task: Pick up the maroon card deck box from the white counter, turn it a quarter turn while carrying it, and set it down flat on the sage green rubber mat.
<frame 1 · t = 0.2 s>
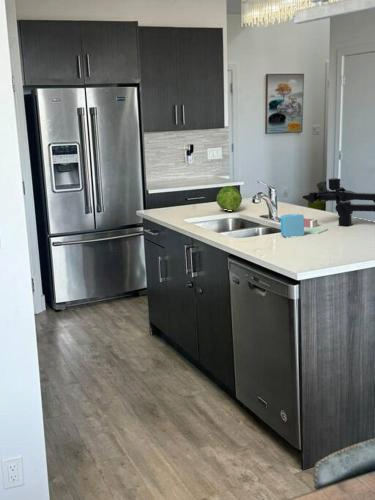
hand: (306, 196, 365), 17 cm above the worktop, tool horizontal, fingers open, 9 cm apart
card deck: (308, 226, 358), on the worktop
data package: (292, 236, 334), on the worktop
lettuce: (228, 211, 433), on the worktop
mat: (311, 231, 343), on the worktop
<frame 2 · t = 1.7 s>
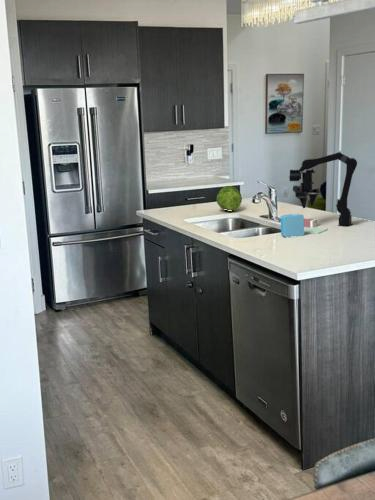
hand: (307, 207, 355), 12 cm above the worktop, tool pointing down, fingers open, 9 cm apart
nothing on the worktop moved.
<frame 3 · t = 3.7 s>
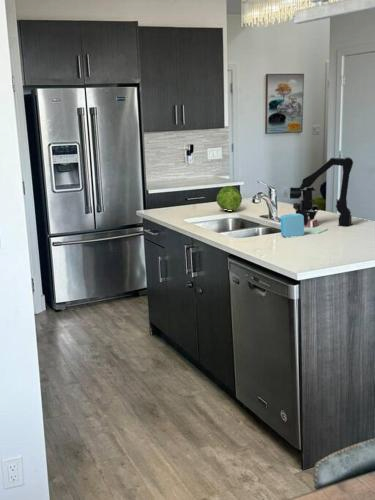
hand: (308, 224, 358), 1 cm above the worktop, tool pointing down, fingers closed on card deck, 6 cm apart
card deck: (308, 226, 358), on the worktop, touching gripper
everything else where it was.
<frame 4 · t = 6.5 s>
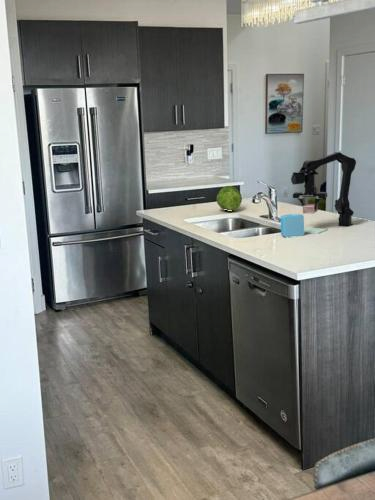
hand: (310, 210, 344), 12 cm above the worktop, tool pointing down, fingers closed on card deck, 6 cm apart
card deck: (310, 212, 345), point 10 cm above the worktop, touching gripper
everything else where it was.
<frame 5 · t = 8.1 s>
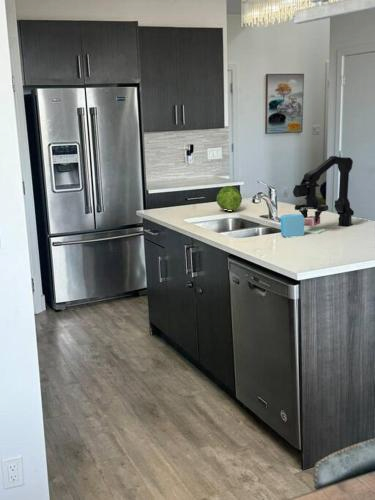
hand: (311, 222, 342), 5 cm above the worktop, tool pointing down, fingers closed on card deck, 6 cm apart
card deck: (311, 224, 343), point 4 cm above the worktop, touching gripper
everything else where it was.
when the fingers open (3 cm above the worktop, at t = 9.5 s): card deck drops 2 cm, resting on mat.
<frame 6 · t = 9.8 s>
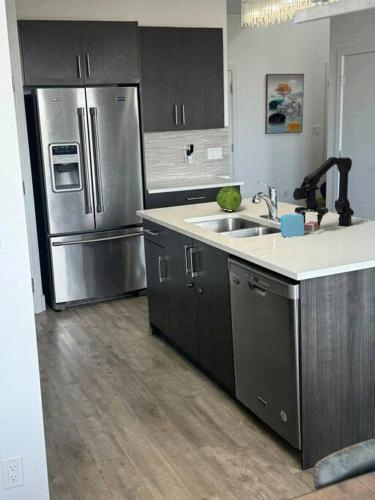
hand: (311, 225, 343), 3 cm above the worktop, tool pointing down, fingers open, 9 cm apart
card deck: (311, 229, 343), point 1 cm above the worktop, touching mat
everything else where it was.
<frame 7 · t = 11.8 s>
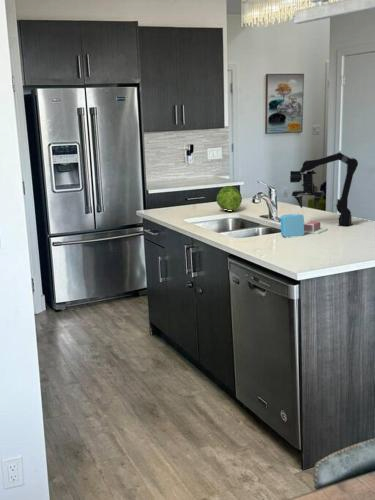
hand: (308, 208, 355), 11 cm above the worktop, tool pointing down, fingers open, 9 cm apart
nothing on the worktop moved.
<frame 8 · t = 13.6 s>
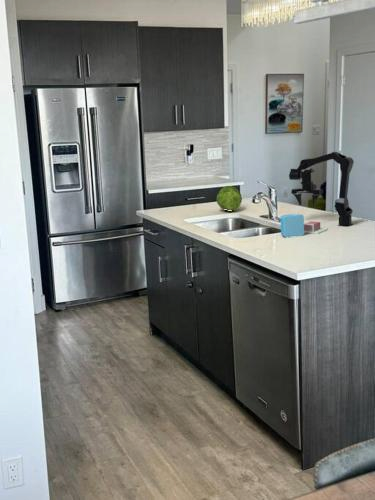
hand: (307, 205, 365), 11 cm above the worktop, tool pointing down, fingers open, 9 cm apart
nothing on the worktop moved.
at the end: card deck inside the target area on the mat (0.1 cm from its centre), point 0.6 cm above the mat's base; card deck tilted 0°; the gripper is holding nothing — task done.
